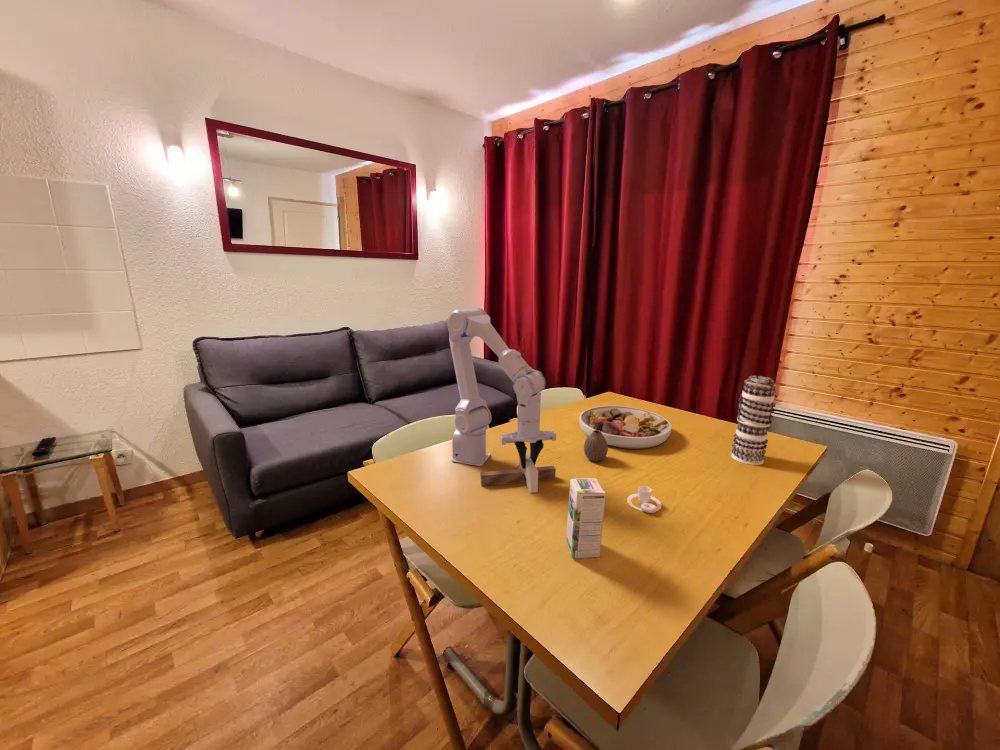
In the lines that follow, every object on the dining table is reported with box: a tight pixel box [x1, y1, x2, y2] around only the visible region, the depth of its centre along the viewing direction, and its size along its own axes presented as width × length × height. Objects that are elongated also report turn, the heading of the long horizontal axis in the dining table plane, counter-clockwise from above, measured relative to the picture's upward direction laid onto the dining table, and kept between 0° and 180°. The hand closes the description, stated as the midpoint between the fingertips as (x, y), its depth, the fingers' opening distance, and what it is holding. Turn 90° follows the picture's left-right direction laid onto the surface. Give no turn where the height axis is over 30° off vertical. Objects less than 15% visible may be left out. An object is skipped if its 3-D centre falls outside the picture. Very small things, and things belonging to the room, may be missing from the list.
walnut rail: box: [480, 465, 557, 487], centre depth 109 cm, size 20×2×3 cm, turn 101°
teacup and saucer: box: [626, 485, 662, 514], centre depth 99 cm, size 9×8×4 cm
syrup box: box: [565, 477, 607, 559], centre depth 82 cm, size 6×6×14 cm
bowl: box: [578, 405, 672, 450], centre depth 141 cm, size 30×30×8 cm
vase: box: [583, 430, 609, 463], centre depth 121 cm, size 7×7×9 cm
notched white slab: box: [518, 451, 539, 494], centre depth 109 cm, size 12×2×6 cm, turn 11°
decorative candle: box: [730, 375, 778, 466], centre depth 120 cm, size 9×9×25 cm
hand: (527, 466), depth 109 cm, fingers closed on notched white slab, 2 cm apart
